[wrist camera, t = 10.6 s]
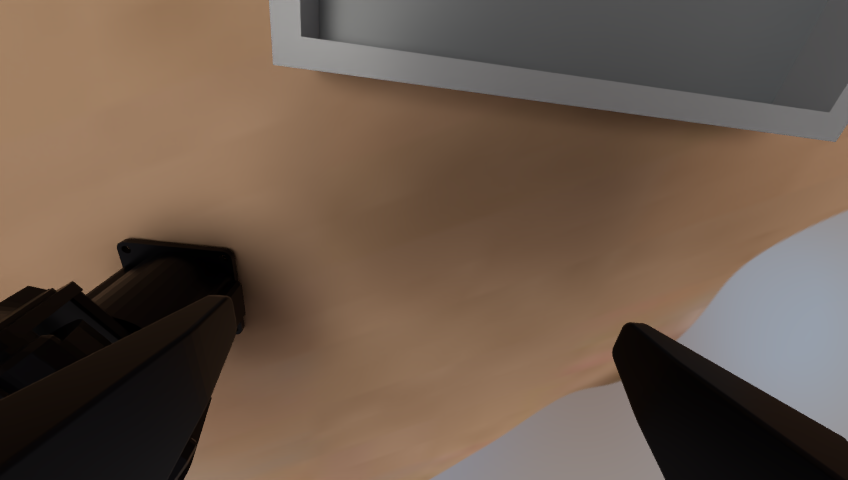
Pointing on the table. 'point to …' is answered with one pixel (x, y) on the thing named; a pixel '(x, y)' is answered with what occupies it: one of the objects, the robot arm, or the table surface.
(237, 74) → the table surface
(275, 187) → the table surface
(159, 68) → the table surface
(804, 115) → the socket box
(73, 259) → the table surface
